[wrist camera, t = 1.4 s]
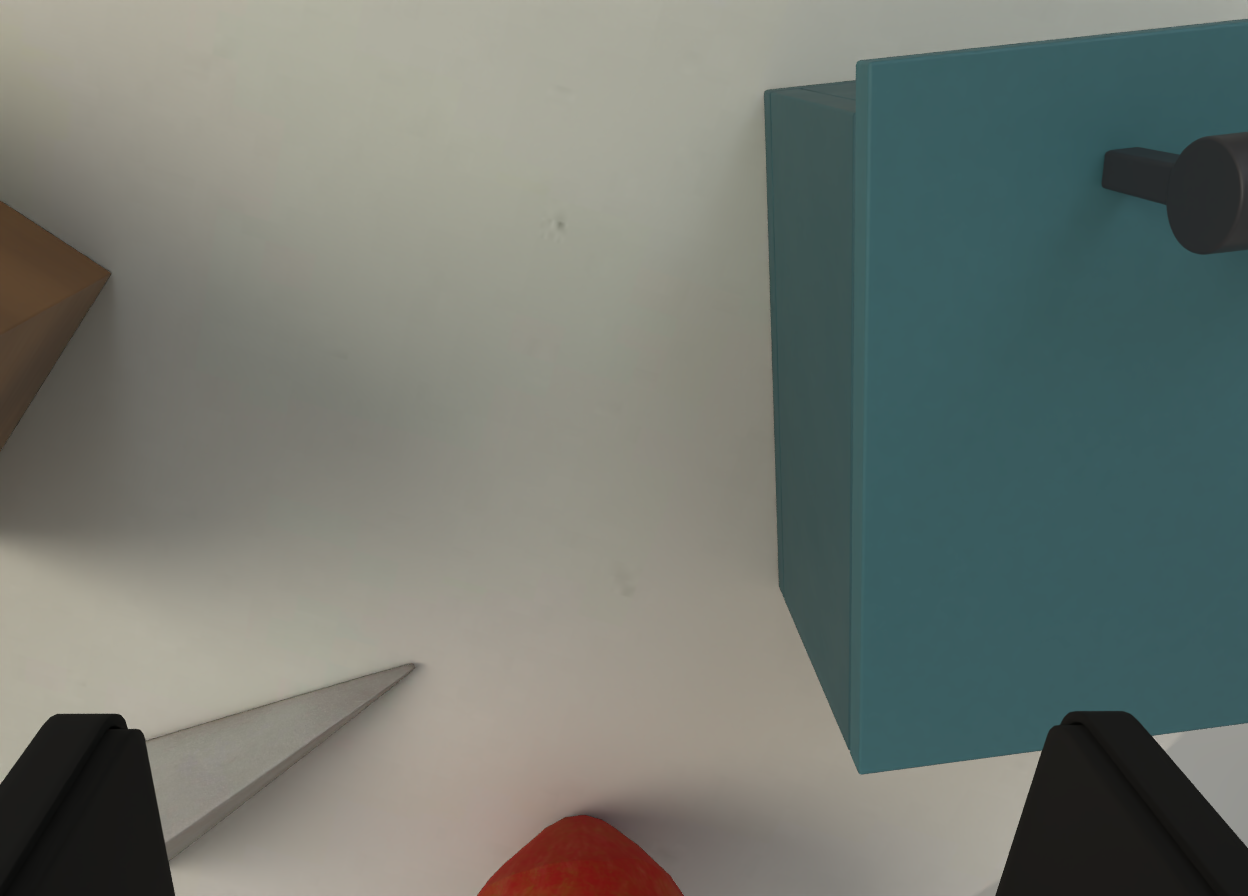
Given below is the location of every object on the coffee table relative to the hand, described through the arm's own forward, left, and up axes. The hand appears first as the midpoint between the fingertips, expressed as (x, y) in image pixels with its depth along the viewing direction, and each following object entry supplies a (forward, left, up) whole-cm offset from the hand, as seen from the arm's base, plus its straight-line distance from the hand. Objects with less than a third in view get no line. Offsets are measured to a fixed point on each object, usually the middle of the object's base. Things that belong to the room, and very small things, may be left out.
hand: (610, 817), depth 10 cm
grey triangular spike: (+19, 0, -19) cm, 26 cm away
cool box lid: (-8, +10, -11) cm, 17 cm away
